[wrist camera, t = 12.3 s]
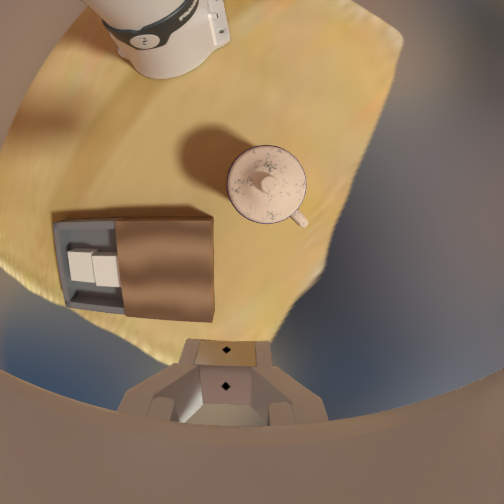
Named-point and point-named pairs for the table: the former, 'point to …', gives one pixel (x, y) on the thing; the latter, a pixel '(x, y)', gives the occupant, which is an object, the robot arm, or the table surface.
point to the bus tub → (91, 237)
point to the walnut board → (167, 267)
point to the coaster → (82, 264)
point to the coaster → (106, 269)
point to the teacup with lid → (267, 185)
